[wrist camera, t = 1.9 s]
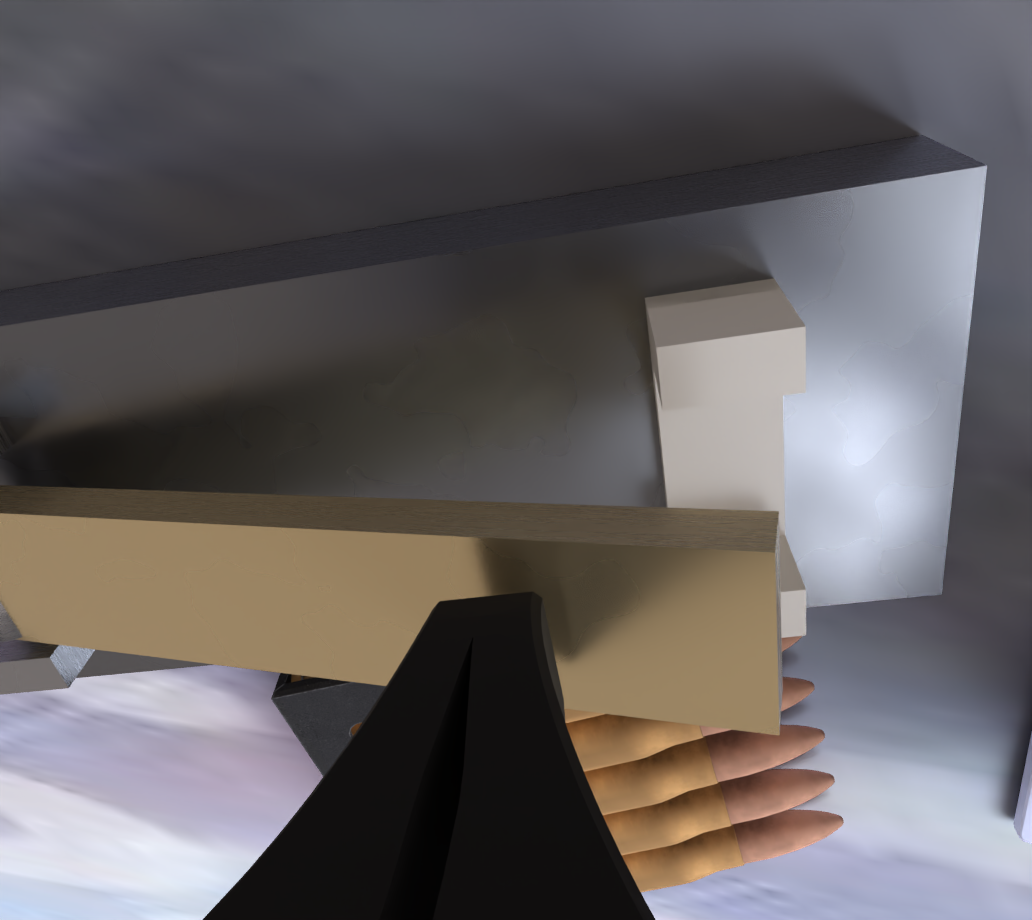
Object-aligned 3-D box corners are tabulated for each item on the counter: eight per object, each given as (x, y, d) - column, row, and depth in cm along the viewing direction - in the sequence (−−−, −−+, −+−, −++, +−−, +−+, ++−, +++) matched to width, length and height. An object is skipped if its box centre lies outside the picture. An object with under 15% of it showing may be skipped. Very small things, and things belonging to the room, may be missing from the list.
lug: (774, 278, 13) (805, 326, 11) (780, 561, 16) (806, 635, 14) (644, 298, 13) (656, 347, 11) (673, 573, 16) (686, 646, 14)
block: (923, 135, 14) (1049, 195, 10) (896, 519, 18) (982, 662, 14) (-71, 303, 17) (-255, 399, 13) (99, 606, 20) (-3, 746, 17)
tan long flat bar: (780, 502, 10) (774, 563, 9) (783, 678, 11) (779, 748, 11) (-51, 477, 15) (-110, 514, 14) (26, 601, 17) (-23, 643, 16)
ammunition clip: (444, 887, 26) (836, 811, 23) (439, 948, 24) (859, 872, 22) (289, 640, 20) (771, 515, 18) (269, 695, 19) (794, 565, 17)
